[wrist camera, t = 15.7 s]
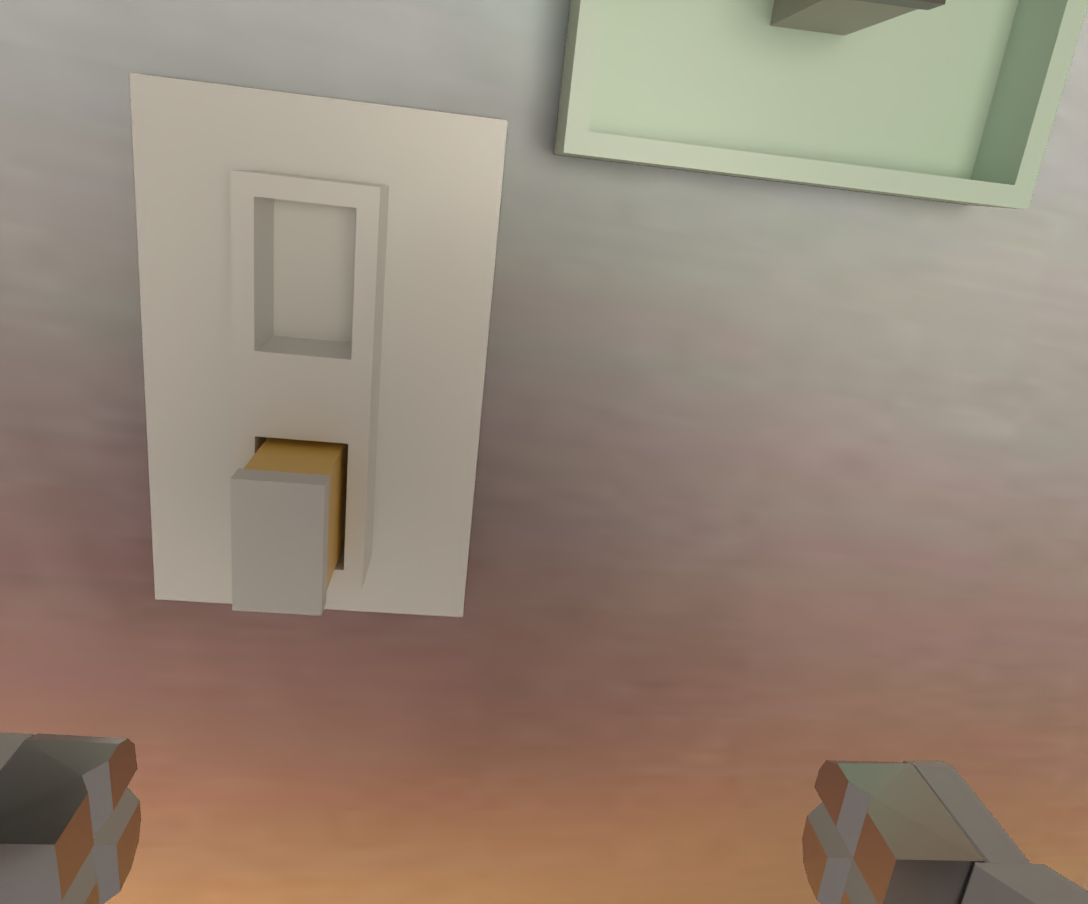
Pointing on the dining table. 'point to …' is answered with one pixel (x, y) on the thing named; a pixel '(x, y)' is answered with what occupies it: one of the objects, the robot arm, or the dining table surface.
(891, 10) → the block
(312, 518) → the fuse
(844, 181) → the parts tray
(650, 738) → the dining table surface
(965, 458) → the dining table surface
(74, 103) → the dining table surface
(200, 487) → the fuse block
